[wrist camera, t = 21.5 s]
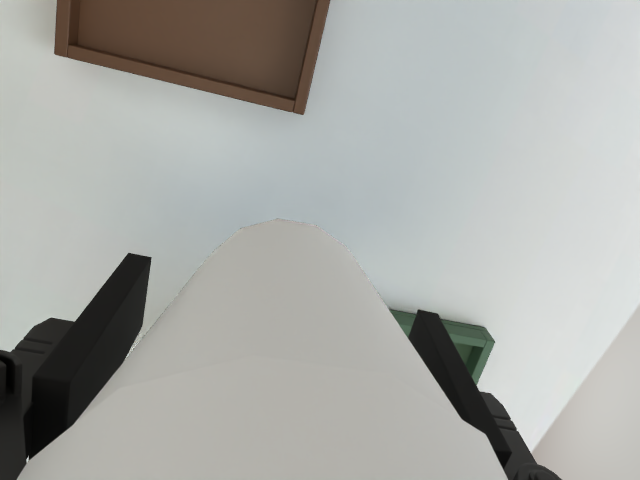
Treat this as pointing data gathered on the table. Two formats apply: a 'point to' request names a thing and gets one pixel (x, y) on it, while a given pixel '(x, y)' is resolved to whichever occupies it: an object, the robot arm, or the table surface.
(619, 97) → the table surface
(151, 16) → the walnut tray
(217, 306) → the foam cup
